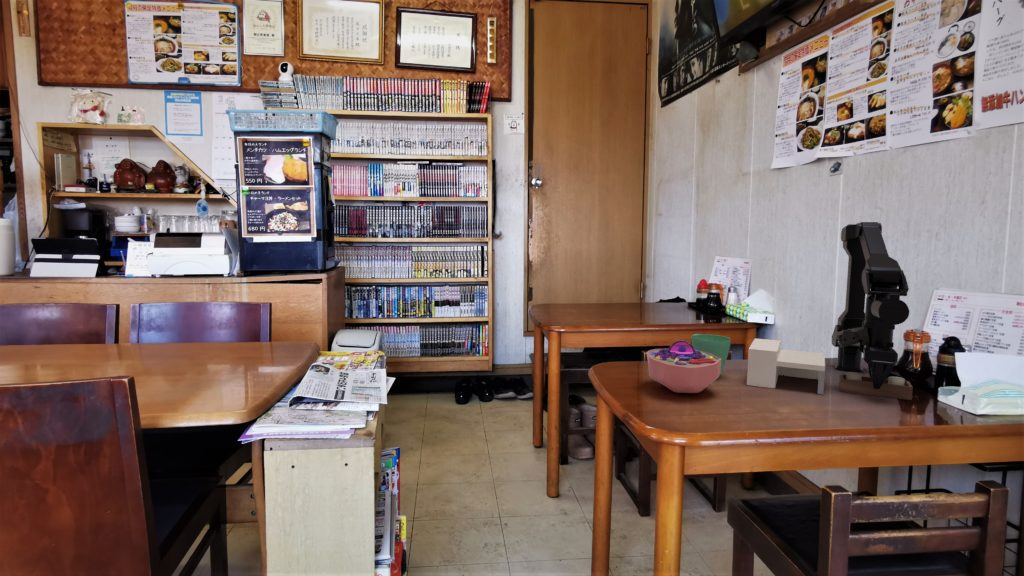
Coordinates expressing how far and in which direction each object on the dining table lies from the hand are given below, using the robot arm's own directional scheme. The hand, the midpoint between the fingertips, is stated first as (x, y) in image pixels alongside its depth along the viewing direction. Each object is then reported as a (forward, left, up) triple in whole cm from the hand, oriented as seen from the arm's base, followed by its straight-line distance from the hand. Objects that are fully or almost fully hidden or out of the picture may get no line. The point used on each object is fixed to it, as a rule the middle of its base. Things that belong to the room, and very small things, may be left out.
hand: (874, 384), depth 132 cm
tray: (0, 0, -2) cm, 2 cm away
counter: (0, -19, -2) cm, 19 cm away
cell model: (+21, -40, -2) cm, 45 cm away
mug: (+1, -38, -2) cm, 38 cm away
